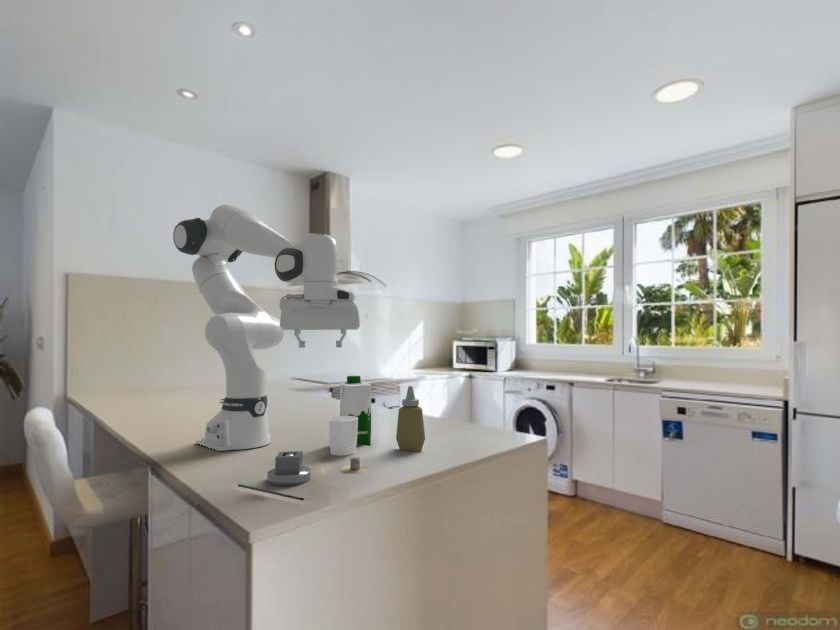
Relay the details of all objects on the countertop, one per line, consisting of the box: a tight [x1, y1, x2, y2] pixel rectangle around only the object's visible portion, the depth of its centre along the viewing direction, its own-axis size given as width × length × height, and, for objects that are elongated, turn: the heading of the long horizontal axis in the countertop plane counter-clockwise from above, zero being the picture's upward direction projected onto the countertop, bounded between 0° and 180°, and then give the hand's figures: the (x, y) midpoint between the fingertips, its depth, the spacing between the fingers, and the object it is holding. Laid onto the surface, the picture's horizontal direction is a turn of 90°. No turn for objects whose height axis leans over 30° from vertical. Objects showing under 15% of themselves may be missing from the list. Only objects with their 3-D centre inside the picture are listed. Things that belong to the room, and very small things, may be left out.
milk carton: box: [339, 375, 372, 447], centre depth 133 cm, size 9×9×20 cm
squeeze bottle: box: [395, 385, 426, 453], centre depth 125 cm, size 8×8×18 cm
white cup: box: [327, 415, 358, 456], centre depth 121 cm, size 8×8×10 cm
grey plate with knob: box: [237, 454, 312, 501], centre depth 98 cm, size 18×12×6 cm, turn 62°
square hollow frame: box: [274, 450, 304, 475], centre depth 98 cm, size 5×5×4 cm
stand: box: [339, 456, 371, 475], centre depth 106 cm, size 7×7×4 cm
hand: (320, 347), depth 117 cm, fingers open, 8 cm apart
